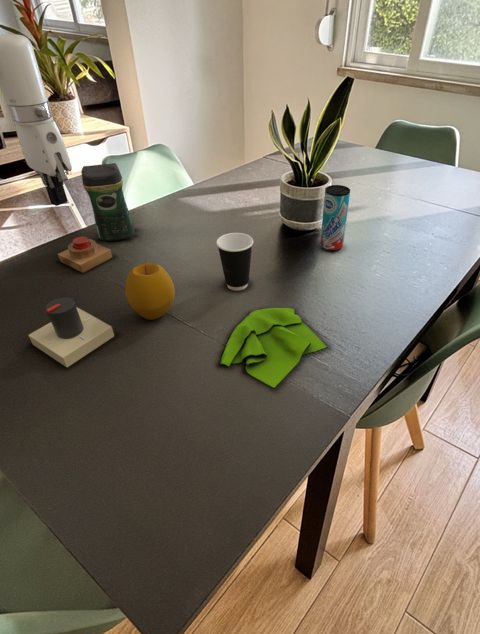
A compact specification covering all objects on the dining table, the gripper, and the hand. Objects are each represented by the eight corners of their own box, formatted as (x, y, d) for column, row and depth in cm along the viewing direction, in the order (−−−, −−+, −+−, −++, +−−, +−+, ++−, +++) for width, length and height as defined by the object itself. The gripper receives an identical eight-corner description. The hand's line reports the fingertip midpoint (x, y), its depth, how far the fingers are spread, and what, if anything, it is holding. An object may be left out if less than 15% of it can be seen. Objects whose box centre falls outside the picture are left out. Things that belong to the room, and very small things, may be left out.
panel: (32, 344, 83) (27, 334, 81) (80, 316, 90) (76, 306, 88) (67, 367, 78) (62, 357, 76) (114, 336, 85) (111, 325, 83)
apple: (165, 333, 85) (155, 284, 77) (122, 324, 87) (108, 275, 80) (186, 305, 92) (178, 257, 84) (146, 298, 94) (134, 250, 86)
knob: (73, 319, 85) (63, 293, 81) (89, 328, 82) (79, 302, 78) (51, 332, 82) (39, 305, 78) (66, 342, 80) (54, 315, 75)
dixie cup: (213, 288, 97) (208, 244, 90) (232, 272, 102) (229, 229, 95) (242, 298, 94) (240, 253, 87) (261, 281, 99) (260, 237, 92)
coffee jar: (134, 226, 120) (119, 158, 108) (135, 239, 114) (119, 168, 102) (99, 231, 118) (79, 161, 106) (98, 244, 113) (77, 172, 100)
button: (71, 247, 104) (69, 241, 103) (84, 241, 106) (82, 235, 105) (80, 251, 103) (78, 245, 101) (93, 245, 105) (91, 239, 104)
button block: (60, 261, 106) (54, 247, 104) (90, 247, 112) (85, 233, 109) (82, 273, 102) (77, 258, 100) (112, 257, 108) (108, 243, 105)
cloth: (294, 302, 93) (294, 293, 91) (342, 369, 77) (343, 359, 76) (203, 323, 87) (201, 314, 86) (234, 399, 72) (234, 389, 71)
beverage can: (315, 246, 111) (319, 189, 101) (330, 239, 114) (336, 182, 104) (332, 254, 108) (338, 196, 98) (347, 247, 111) (355, 190, 101)
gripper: (70, 114, 83) (94, 205, 95) (26, 103, 90) (54, 190, 102) (35, 122, 79) (65, 217, 91) (-8, 110, 85) (25, 200, 97)
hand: (59, 202), depth 96 cm, fingers closed
